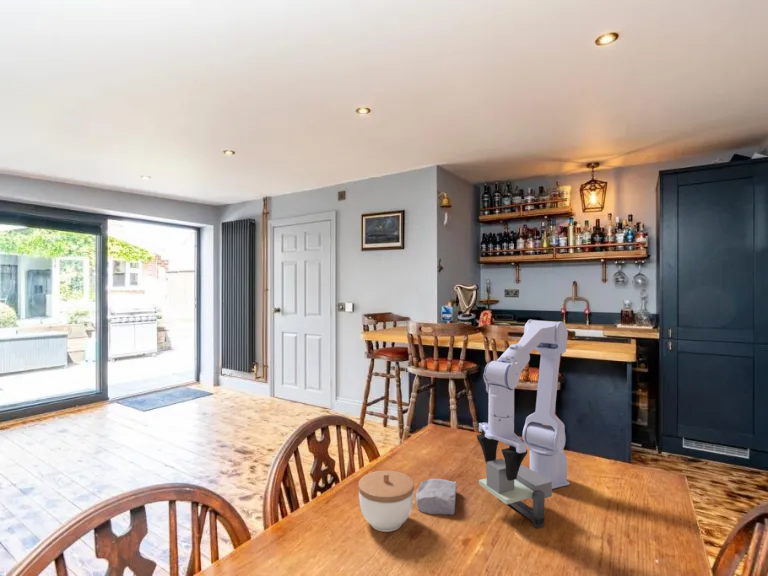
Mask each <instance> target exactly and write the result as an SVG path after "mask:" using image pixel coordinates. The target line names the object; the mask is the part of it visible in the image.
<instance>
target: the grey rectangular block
mask: <svg viewBox="0 0 768 576" xmlns="http://www.w3.org/2000/svg"><path fill="white" fill-rule="evenodd" d="M485 466H486V467H485V468H486V470H485V471H486V478H487V486H488V487H490V488H491V489H493V490H494V491H495V492H497V493H498V494H501V493H505V492H508V491H511V490H514V480H511V481H509V480H507V476H506V464H505V459H504V458H498V459H497V458H496V460H493V461H489V462H485Z"/></svg>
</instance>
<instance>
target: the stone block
mask: <svg viewBox="0 0 768 576" xmlns="http://www.w3.org/2000/svg"><path fill="white" fill-rule="evenodd" d="M456 497H457V481H451V480H447V479H443V478H431V479H426V480H423V481H421V482H420V485H419V487H418V488H417V490H416V493H415V502H416V505H417V508H418V511H420V513H421V512H422V513H425V514H429V515H430V514H431V515H448V516H449V515H450V516H453V515H454V514H455V513H456V511H455V510H456V501H457V500H456V499H457V498H456Z"/></svg>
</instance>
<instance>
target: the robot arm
mask: <svg viewBox="0 0 768 576" xmlns="http://www.w3.org/2000/svg"><path fill="white" fill-rule="evenodd" d="M568 333H569V332H568V328H567V325H566V323H565V322H563V321H560V320H559V321H550V320H537V319H528V320H527V322H526V323H525V324H524V330H523V335H522V336H521V338H520V339H519V341H517V342H518V343H515V344H514V343H511V344H510V345H509V347H507V349H506V350H505V351H504V352H503V353H502V354H501V355H500V357H499V358H498V359H496V360H491V361H490V362H488V363H487V364H486V365H485V367H484V372H483V382H484V384H485V386H486V387H485V391H486V393H488V411H487V412H488V422H479V423H478V432H479V433H480V432H481V434H477V435H476V439H477V441H478V443H479V445H480V447H481V449H482V453H483V457H484V462H485V463H486V462H489V461H493V460H497V450H498V445H499V442H501V443H503V444H505V445H507V446H509V447H507V448H503V449H501V453H502V456H503V460H505V464H506V476H507V480H509V481H511V480H515V479H516V478H517V475H518V471H519V468H520V465H522V463H523V461H524V459H525V458H526V456H527V454H528V449H529V469H531V470H532V471H534V472H536V473H538V474H539V475H541V476H543V477H544V478H546V479H548V480H550V481H551V482H552V490H555V489H556V488H562V487H566V486H569V485H570V482H569V481H568V458H567V454H566V453H565V452H564V448H565V446H566V440H567V439H566V432H565V430H566V429H565V428H566V427H565V426H566V425H565V424H564V422H563V421H562V420H561V419H560V418H559V417H558V416H557V415H556V403H557V402H556V401H557V391H558V390H557V389H558V381H559V371H560V369H559V368H560V361H561V354H564V353H566V352H567V347H568V336H569V335H568ZM533 350H535V351H537V352H539V354H540V360H539V370H538V380H537V381H538V382H537V391H536V402H535V411H534V412H533V413H531V414H529V415H528V416H526V418H525V423H524V426H523V430H522V439H523V440H522V439H521V438H520V437H519V436H518V435H517V434H516V433H515V389H516V388H517V386H518V385H519V381H520V377H521V376H522V370H524V368H525V367H526V366H527V365H528V363H529V362H530V360H531V355H530V353H532V351H533Z"/></svg>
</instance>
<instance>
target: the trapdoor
mask: <svg viewBox="0 0 768 576" xmlns="http://www.w3.org/2000/svg"><path fill="white" fill-rule="evenodd" d="M478 485H480V486H481V487H482V488H483V489H485V490H486V491H487V492H489V493H490V494H491V495H493V496H494V497H495V498H498V499H497V500H499V501H500V500H501V501H500V502H502V503H503V504H505V505H506V506H507V505H510V503H514V502H517V501H524V500H528V499H532V500H533V492H534V491H538V490H540V491H542V492H544V493H545V497H544V499H548V498H552V497H553V492H552V490H553V489H552V482H551V481H550V480H548V479H546V478H544V477H543V476H541V475H539V474H538V473H536V472H534V471H532V470H531V469H530V467H527V466H526V465H524V464H521V465H520V468H519V471H518V475H517V478H516V479H515V480H514V490H511V491H508V492H505V493H501V494H498V493H497V492H495V491H494V490H493V489H491V488H490V487H488V486H487V477H486V478H481V479H479V480H478Z"/></svg>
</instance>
